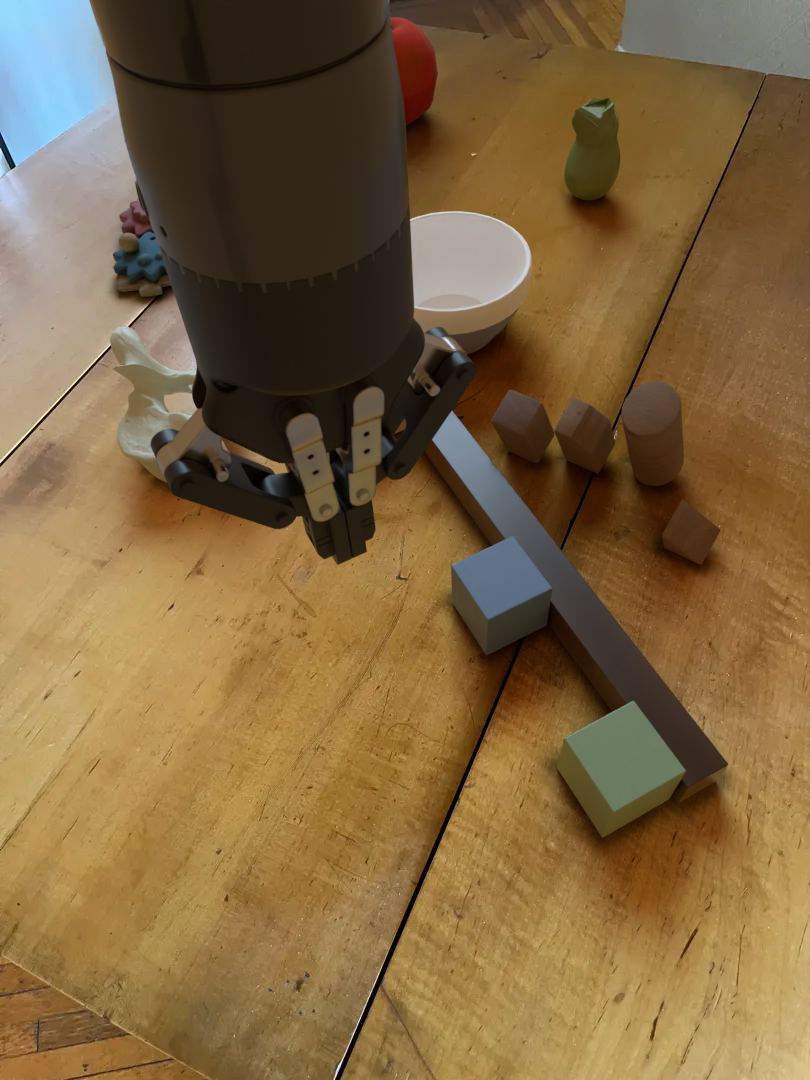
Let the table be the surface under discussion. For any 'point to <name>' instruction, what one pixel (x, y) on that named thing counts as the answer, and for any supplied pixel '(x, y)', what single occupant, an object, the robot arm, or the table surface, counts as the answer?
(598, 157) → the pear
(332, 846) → the table surface
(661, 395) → the wooden block set
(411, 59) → the apple
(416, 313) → the bowl
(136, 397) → the bone
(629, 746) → the green block
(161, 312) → the table surface
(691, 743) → the straightedge
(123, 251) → the gear puzzle
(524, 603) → the blue block
